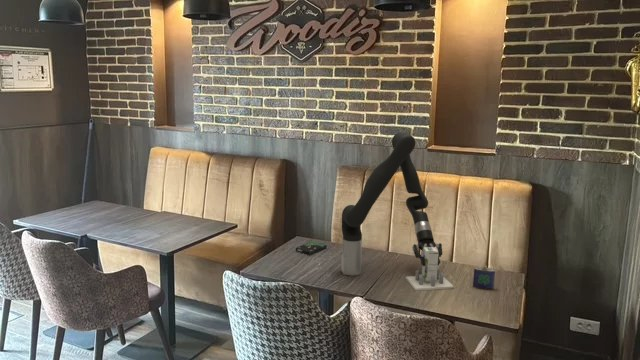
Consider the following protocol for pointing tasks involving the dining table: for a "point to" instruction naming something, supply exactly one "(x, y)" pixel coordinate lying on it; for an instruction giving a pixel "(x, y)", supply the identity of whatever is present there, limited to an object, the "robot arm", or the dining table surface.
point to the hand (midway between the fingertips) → (431, 265)
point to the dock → (429, 282)
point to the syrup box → (430, 263)
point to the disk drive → (311, 248)
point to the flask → (484, 278)
